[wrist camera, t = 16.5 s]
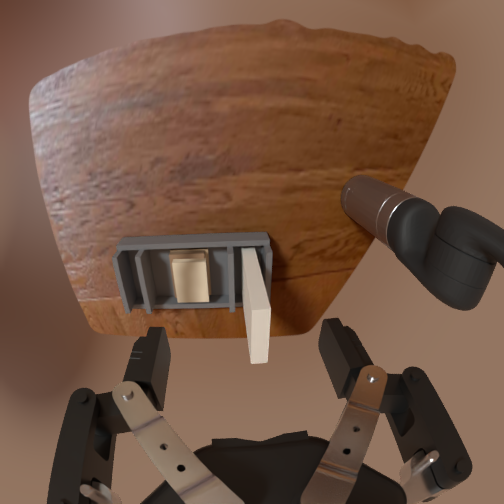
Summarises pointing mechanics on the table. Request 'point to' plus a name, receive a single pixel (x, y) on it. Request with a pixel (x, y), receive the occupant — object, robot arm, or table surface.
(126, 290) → the rack
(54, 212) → the table surface
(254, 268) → the white rectangular board
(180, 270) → the offcuts
